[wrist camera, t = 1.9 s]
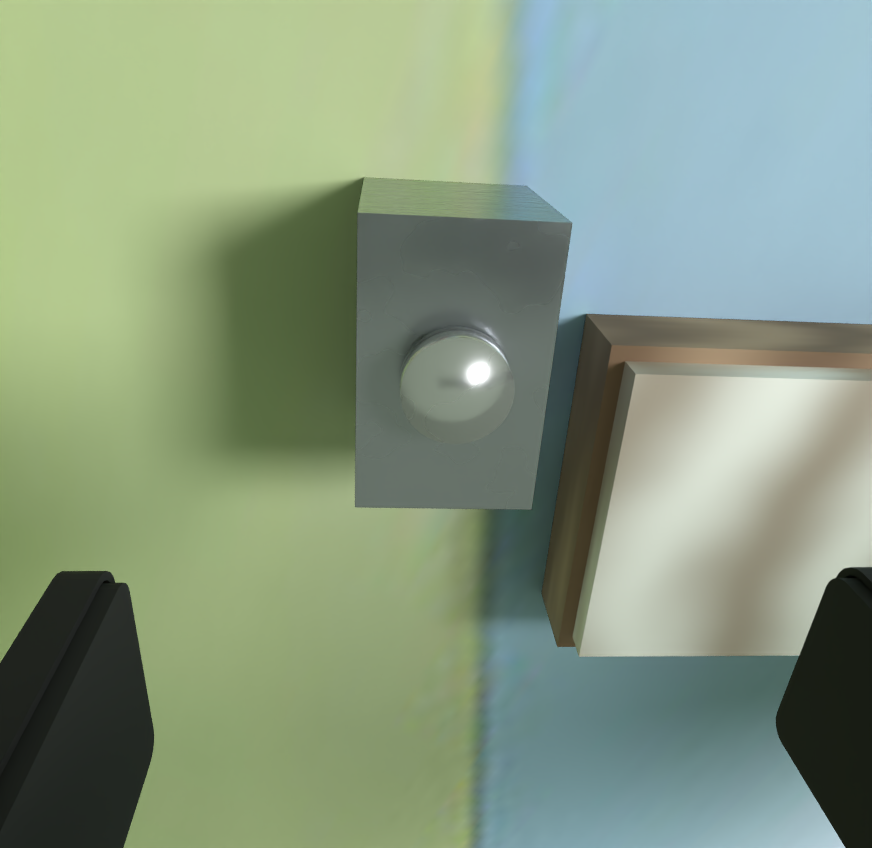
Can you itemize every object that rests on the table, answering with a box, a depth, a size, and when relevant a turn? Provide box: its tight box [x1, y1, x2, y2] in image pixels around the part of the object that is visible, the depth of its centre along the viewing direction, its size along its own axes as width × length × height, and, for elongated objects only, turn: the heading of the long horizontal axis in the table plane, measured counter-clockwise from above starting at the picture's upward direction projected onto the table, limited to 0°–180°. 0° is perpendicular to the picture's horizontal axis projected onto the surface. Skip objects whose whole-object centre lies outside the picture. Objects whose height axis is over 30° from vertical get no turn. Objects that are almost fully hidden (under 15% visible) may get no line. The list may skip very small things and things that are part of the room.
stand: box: [542, 314, 872, 657], centre depth 25 cm, size 14×12×4 cm
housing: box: [355, 177, 572, 510], centre depth 20 cm, size 5×8×7 cm, turn 177°
